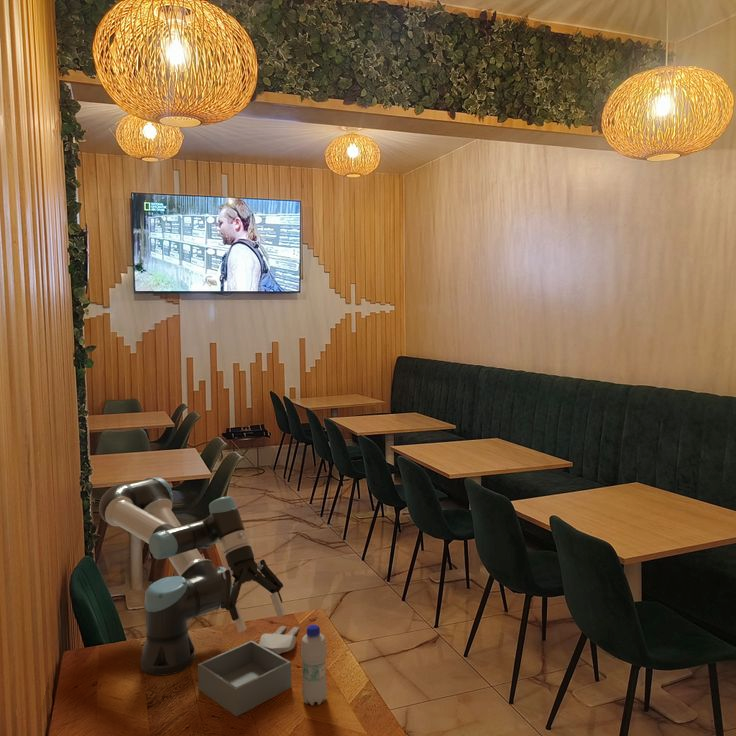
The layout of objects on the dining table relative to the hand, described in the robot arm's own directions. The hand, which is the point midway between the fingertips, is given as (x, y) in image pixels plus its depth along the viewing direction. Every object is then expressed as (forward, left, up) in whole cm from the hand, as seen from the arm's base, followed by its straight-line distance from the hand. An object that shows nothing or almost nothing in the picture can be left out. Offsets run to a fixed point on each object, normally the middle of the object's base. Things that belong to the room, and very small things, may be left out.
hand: (262, 623), depth 174 cm
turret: (-13, +16, -17) cm, 27 cm away
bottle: (+17, +3, -16) cm, 24 cm away
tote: (-1, -6, -16) cm, 17 cm away
